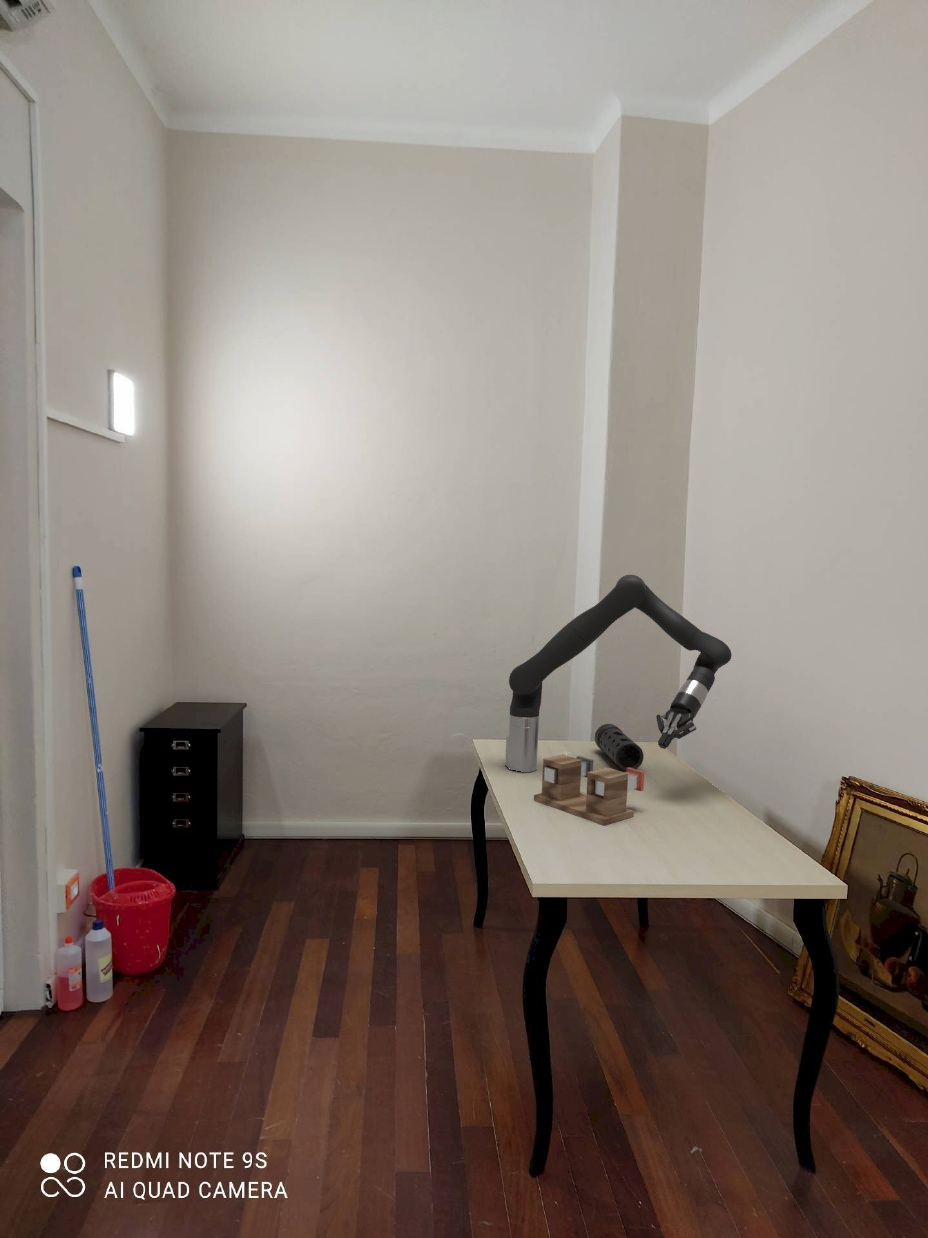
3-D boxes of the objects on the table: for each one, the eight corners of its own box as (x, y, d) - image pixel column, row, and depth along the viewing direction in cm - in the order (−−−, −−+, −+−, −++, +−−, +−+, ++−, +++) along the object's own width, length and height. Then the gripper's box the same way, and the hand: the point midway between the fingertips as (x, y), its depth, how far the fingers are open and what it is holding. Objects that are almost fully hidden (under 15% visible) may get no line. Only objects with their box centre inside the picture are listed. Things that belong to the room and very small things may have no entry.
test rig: (533, 800, 234) (535, 758, 233) (562, 792, 242) (564, 752, 241) (604, 825, 216) (606, 780, 215) (633, 816, 224) (636, 773, 222)
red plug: (592, 795, 222) (593, 776, 222) (628, 786, 233) (629, 767, 232) (607, 800, 219) (608, 781, 218) (643, 790, 229) (644, 771, 228)
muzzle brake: (613, 774, 264) (615, 742, 263) (592, 751, 291) (593, 722, 290) (643, 774, 265) (645, 742, 263) (619, 751, 292) (620, 722, 291)
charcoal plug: (541, 782, 233) (542, 763, 232) (578, 773, 243) (579, 755, 242) (555, 787, 229) (556, 768, 229) (592, 777, 239) (593, 759, 239)
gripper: (665, 687, 246) (637, 734, 239) (704, 694, 236) (676, 743, 230) (675, 703, 250) (647, 749, 243) (714, 711, 240) (686, 760, 234)
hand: (661, 746), depth 237 cm, fingers closed
